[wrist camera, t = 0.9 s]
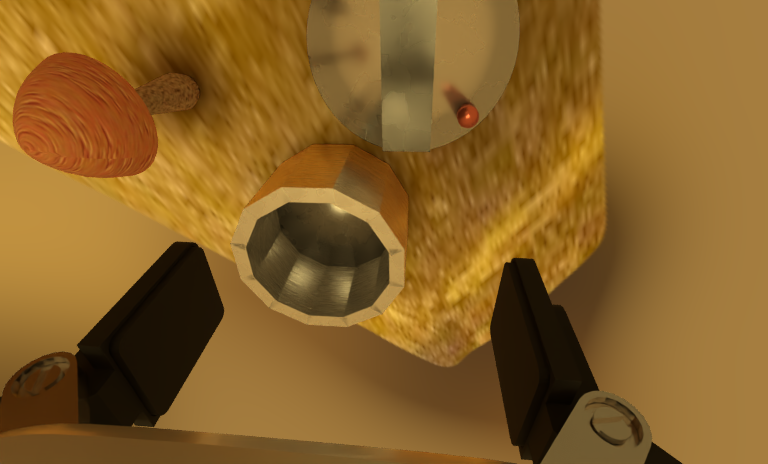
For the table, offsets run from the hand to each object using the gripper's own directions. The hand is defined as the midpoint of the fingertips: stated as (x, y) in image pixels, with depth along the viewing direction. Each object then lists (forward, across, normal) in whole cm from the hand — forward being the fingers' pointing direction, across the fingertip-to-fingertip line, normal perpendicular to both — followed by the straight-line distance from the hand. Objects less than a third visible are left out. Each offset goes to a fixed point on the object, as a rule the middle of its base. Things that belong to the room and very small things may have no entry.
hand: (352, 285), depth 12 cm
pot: (+23, +6, +12) cm, 26 cm away
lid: (+24, -1, -4) cm, 24 cm away
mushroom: (+24, +19, 0) cm, 30 cm away
